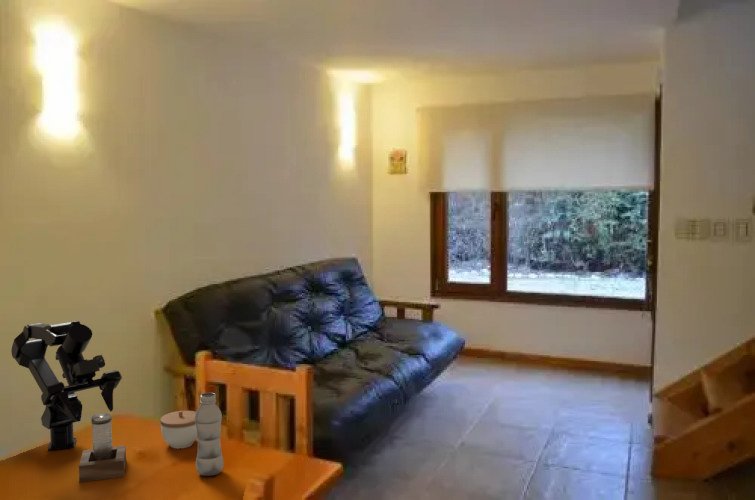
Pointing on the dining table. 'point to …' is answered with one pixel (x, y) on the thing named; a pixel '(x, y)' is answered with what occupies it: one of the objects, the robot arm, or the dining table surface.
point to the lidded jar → (179, 429)
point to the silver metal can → (102, 437)
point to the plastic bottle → (208, 436)
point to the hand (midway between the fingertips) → (94, 415)
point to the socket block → (102, 465)
